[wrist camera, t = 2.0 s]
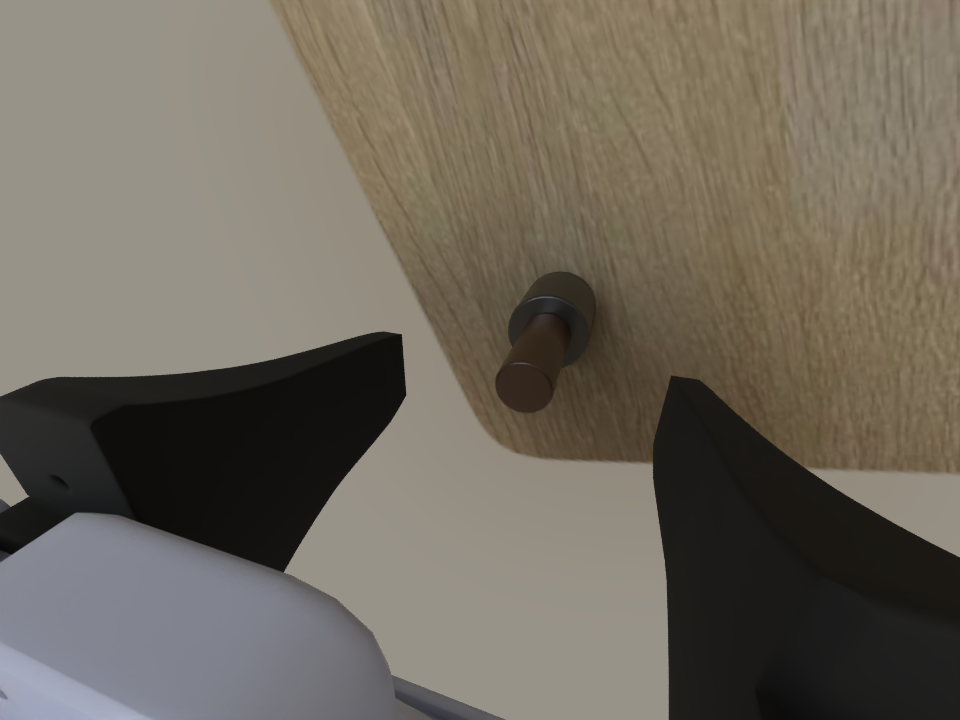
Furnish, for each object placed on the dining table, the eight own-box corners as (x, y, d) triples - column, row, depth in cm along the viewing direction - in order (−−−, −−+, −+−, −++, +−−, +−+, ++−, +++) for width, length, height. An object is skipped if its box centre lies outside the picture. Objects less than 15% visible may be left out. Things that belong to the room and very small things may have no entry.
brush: (590, 341, 17) (569, 441, 11) (524, 331, 18) (473, 421, 12) (600, 274, 16) (583, 349, 10) (529, 268, 17) (473, 333, 11)
